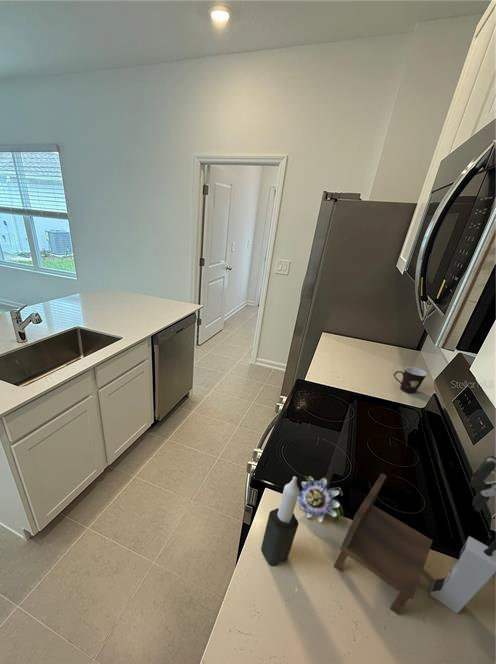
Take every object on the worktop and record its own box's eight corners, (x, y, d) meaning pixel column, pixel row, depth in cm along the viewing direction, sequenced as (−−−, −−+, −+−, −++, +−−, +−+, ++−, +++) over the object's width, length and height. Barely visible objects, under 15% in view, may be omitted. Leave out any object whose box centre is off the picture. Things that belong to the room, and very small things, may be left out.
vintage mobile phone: (433, 582, 68) (491, 506, 55) (460, 600, 65) (527, 525, 52) (428, 595, 65) (488, 519, 53) (456, 614, 62) (526, 539, 50)
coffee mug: (420, 390, 145) (428, 371, 140) (415, 397, 139) (424, 377, 134) (393, 381, 151) (400, 363, 146) (388, 387, 145) (395, 368, 140)
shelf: (358, 522, 80) (381, 473, 71) (418, 561, 72) (453, 510, 63) (332, 566, 70) (355, 514, 61) (398, 616, 61) (436, 565, 53)
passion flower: (304, 529, 83) (284, 498, 80) (315, 497, 91) (297, 468, 87) (345, 535, 75) (325, 501, 72) (354, 499, 83) (335, 467, 79)
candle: (270, 567, 69) (291, 490, 56) (259, 547, 73) (276, 470, 60) (289, 560, 70) (314, 483, 58) (277, 540, 74) (298, 464, 62)
